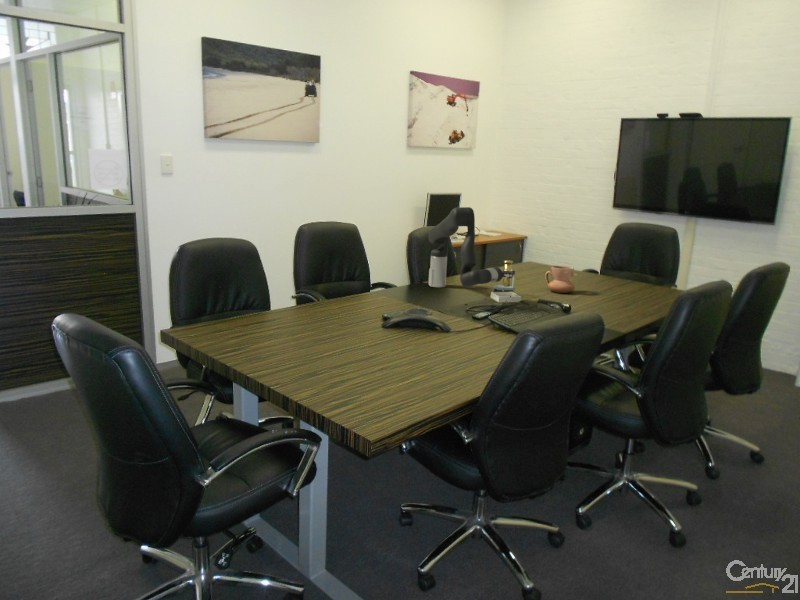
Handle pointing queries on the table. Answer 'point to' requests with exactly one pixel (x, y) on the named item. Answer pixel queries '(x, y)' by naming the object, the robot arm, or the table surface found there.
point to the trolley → (506, 289)
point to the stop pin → (508, 267)
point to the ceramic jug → (561, 279)
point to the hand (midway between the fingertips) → (510, 271)
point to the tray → (505, 296)
